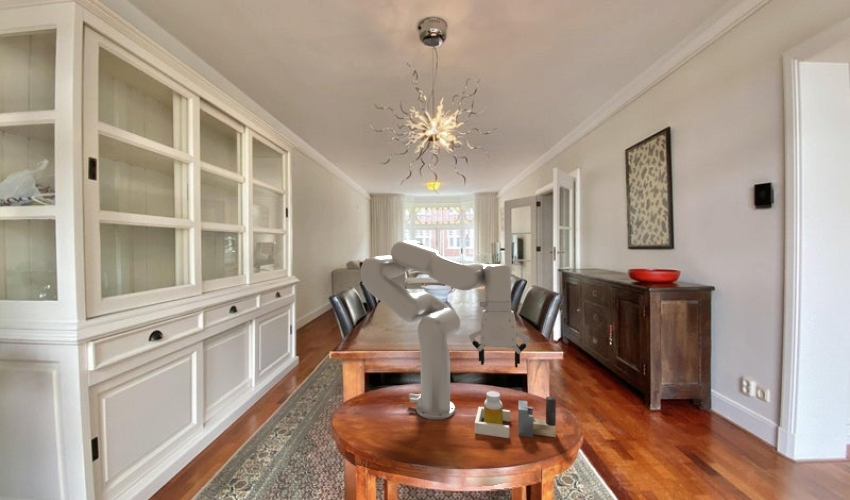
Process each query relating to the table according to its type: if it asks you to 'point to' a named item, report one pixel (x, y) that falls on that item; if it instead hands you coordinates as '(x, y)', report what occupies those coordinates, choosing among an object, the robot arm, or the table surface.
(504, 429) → the frame
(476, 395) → the table surface
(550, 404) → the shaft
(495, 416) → the supplement bottle
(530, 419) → the guide block
